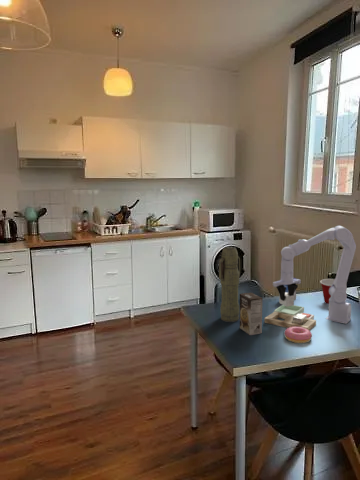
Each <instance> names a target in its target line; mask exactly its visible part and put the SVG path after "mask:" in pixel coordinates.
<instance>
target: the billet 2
mask: <svg viewBox="0 0 360 480" xmlns="http://www.w3.org/2000/svg"><path fill="white" fill-rule="evenodd" d="M306 320H307V315H303V314H297V315H295V316H294V317H293V323H295V324H299V325H304V324H305V323H306Z"/></svg>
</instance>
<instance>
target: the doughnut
mask: <svg viewBox="0 0 360 480" xmlns="http://www.w3.org/2000/svg"><path fill="white" fill-rule="evenodd" d="M283 334H284V337H285V339H287V341H290V342H292V343H295V344H304V343H309V342H310V341H311V340H312V338H313V336H312V335H313V333H312V332H311V330H308V329H306V328H303V327H296V326H295V327H289V328H287V329H285V330H284V333H283Z"/></svg>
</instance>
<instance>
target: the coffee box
mask: <svg viewBox="0 0 360 480" xmlns="http://www.w3.org/2000/svg"><path fill="white" fill-rule="evenodd" d="M262 326H263V297H261V296H259V295H257V294H255V293H254V292H244V293H243V292H242V293H239V329H240V330H242V331H243V332H244V333H246V334H247V335H249V336H254V335H260V334H262V333H263V332H262V331H263V330H262V329H263V327H262Z"/></svg>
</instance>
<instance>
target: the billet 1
mask: <svg viewBox="0 0 360 480" xmlns="http://www.w3.org/2000/svg"><path fill="white" fill-rule="evenodd" d="M278 295H279V296H278V297H279V298H278V299H279V300H278V301H279V302H278V303H279V304H281V306H282V305H284V306H286V307H287V306H294V304H295V303H294V302H295V300H294V295H292V294H289V293H287V292H285V299H284V301H283V300H281V299H280V294H279V293H278Z"/></svg>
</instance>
